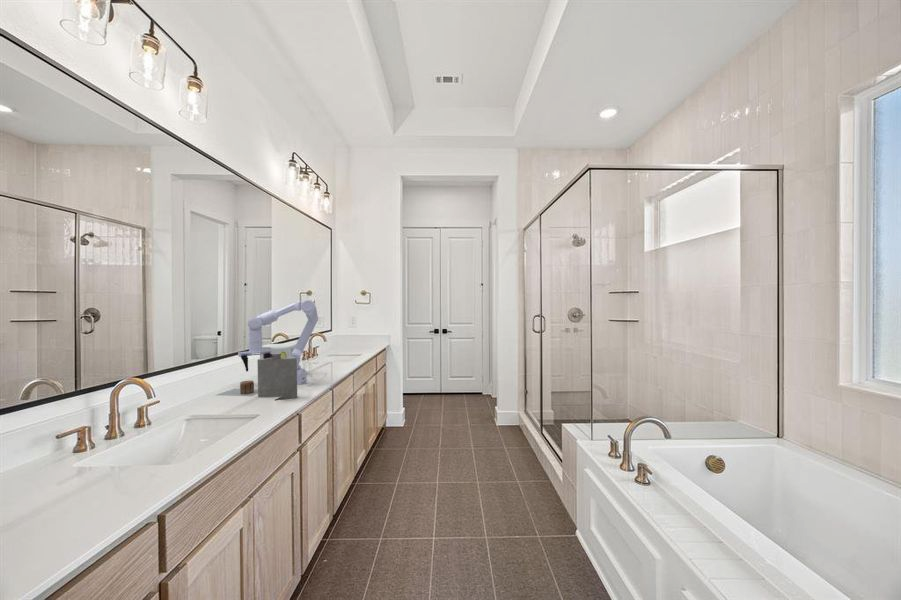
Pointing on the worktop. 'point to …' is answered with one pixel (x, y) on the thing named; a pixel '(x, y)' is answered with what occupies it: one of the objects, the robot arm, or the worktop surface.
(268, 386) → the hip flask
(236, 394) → the board
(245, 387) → the cap
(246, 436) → the worktop surface
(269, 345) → the supplement box
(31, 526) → the worktop surface
